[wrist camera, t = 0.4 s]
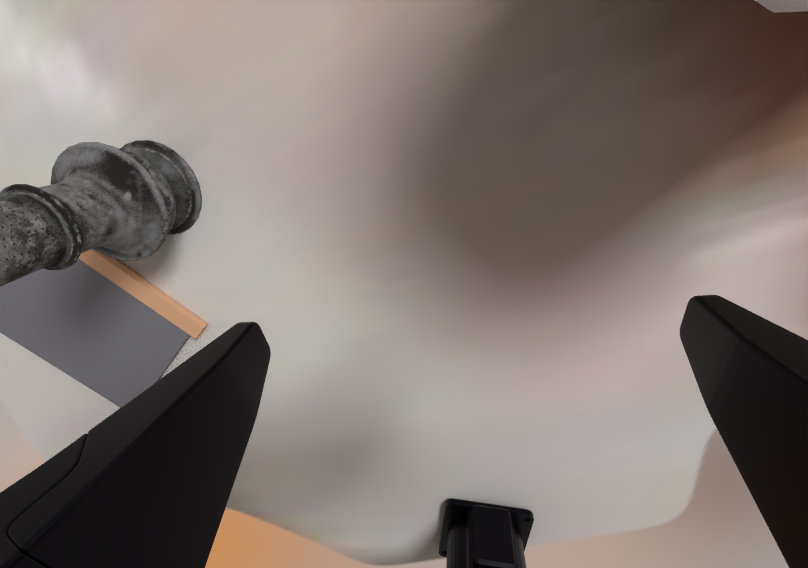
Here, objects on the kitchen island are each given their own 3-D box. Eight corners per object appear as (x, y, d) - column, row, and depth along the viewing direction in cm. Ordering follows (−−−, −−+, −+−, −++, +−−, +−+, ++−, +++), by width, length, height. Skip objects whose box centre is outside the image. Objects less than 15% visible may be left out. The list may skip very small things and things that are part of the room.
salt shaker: (118, 231, 25) (-144, 341, 14) (96, 127, 22) (-245, 165, 11) (211, 245, 24) (17, 368, 14) (200, 141, 22) (-49, 194, 11)
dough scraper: (20, 192, 24) (12, 194, 24) (208, 323, 27) (203, 327, 26) (-22, 312, 29) (-30, 315, 28) (142, 415, 31) (137, 419, 31)
